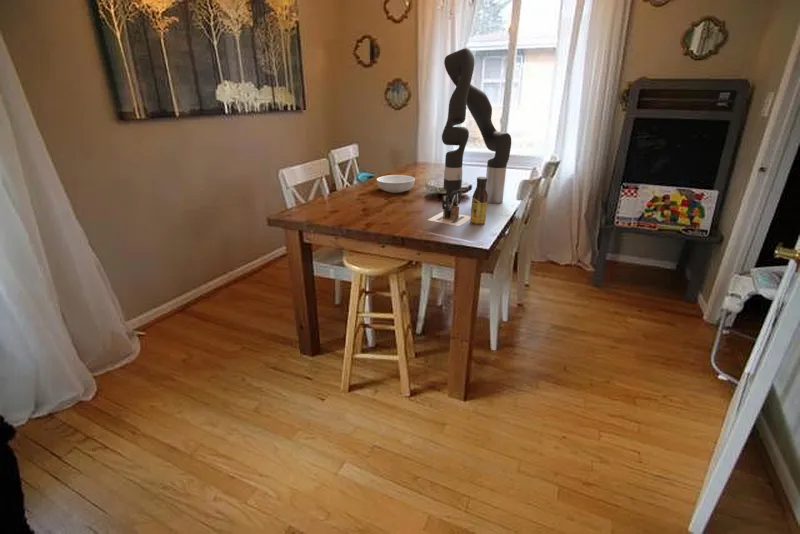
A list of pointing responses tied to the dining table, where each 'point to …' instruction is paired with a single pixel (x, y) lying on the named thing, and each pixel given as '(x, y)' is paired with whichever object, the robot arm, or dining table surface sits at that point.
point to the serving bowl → (395, 183)
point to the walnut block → (452, 213)
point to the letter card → (456, 222)
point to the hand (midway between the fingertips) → (450, 216)
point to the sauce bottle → (479, 203)
